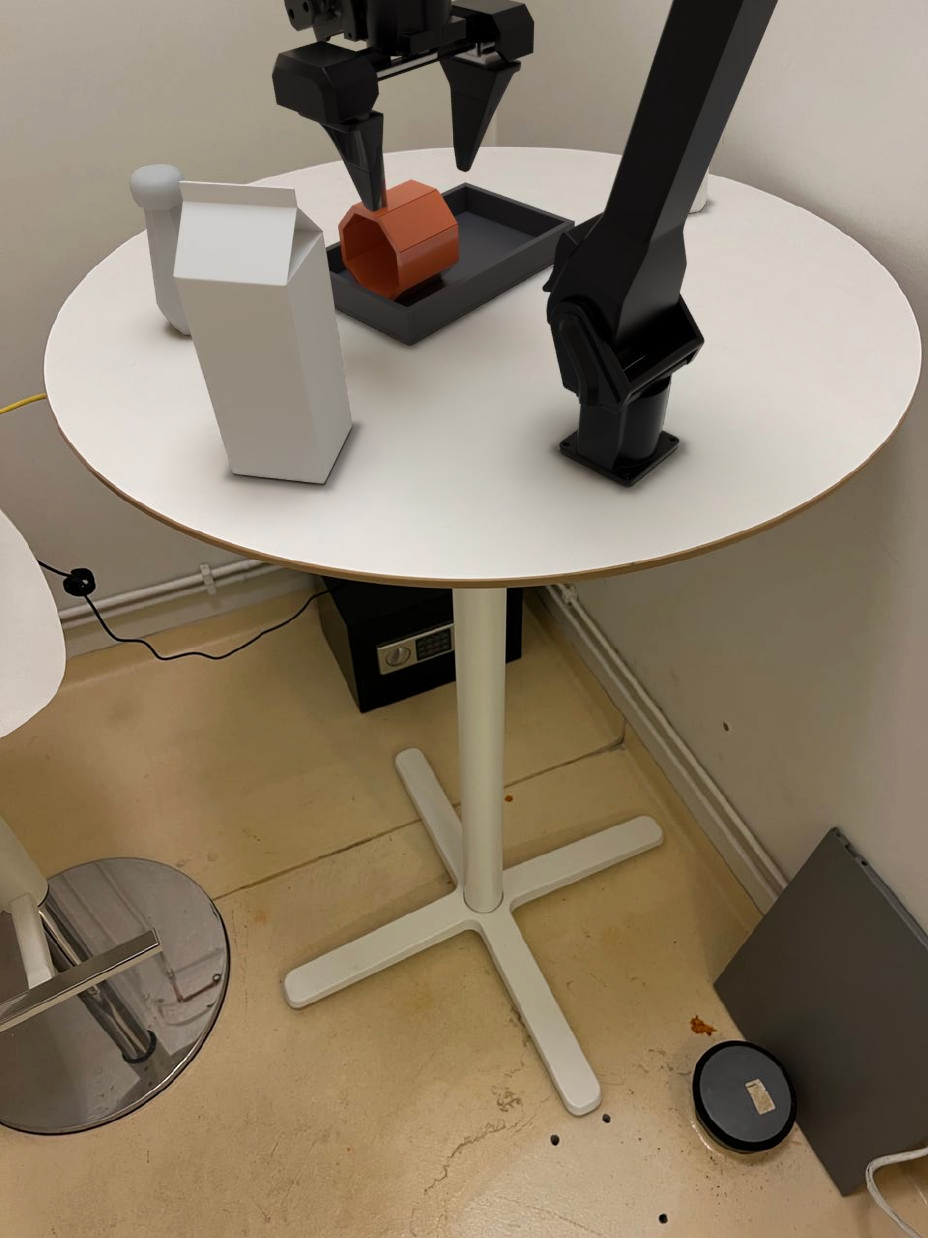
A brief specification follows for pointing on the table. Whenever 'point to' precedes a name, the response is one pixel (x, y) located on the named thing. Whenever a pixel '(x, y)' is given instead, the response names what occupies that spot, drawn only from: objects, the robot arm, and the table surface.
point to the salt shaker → (162, 233)
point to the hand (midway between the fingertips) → (418, 189)
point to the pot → (400, 240)
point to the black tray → (459, 265)
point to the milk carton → (263, 328)
